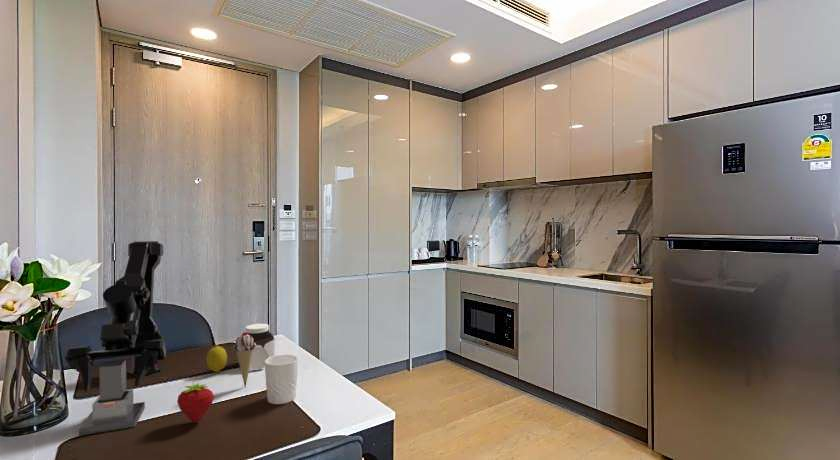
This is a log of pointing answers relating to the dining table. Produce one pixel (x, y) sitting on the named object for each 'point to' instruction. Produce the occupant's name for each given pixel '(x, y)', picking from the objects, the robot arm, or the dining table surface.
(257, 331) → the spread jar
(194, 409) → the strawberry
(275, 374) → the white cup
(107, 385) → the jack column
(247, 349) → the ice cream cone
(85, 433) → the jack stand base
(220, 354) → the lemon
